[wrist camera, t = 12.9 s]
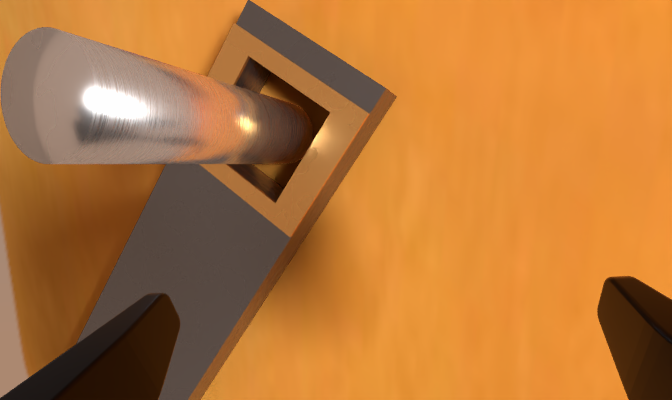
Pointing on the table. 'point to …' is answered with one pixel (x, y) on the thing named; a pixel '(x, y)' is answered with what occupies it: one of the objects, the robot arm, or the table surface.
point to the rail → (240, 205)
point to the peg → (137, 109)
